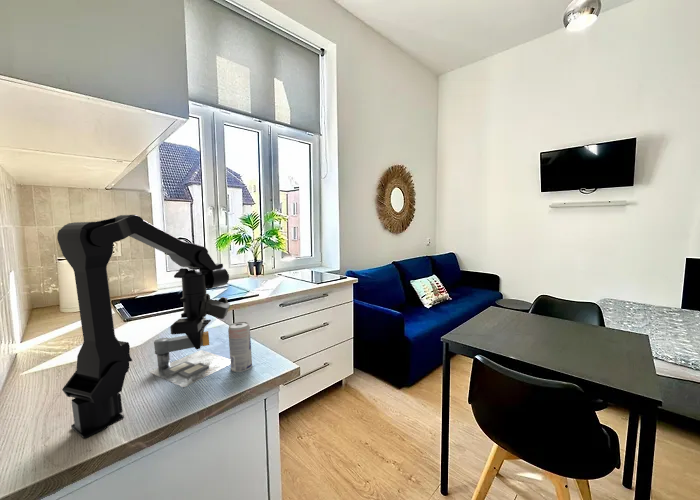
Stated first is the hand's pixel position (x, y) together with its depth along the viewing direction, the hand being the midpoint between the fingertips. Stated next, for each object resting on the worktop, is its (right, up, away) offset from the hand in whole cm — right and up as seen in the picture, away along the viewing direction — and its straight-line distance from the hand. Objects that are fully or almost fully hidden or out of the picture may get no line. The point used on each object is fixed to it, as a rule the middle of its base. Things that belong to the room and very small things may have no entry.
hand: (198, 348), depth 83 cm
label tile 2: (-4, -5, -2) cm, 6 cm away
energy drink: (+13, -5, -2) cm, 14 cm away
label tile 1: (+1, -5, -3) cm, 6 cm away
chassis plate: (-1, -5, -1) cm, 5 cm away
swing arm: (-5, 0, +1) cm, 5 cm away
